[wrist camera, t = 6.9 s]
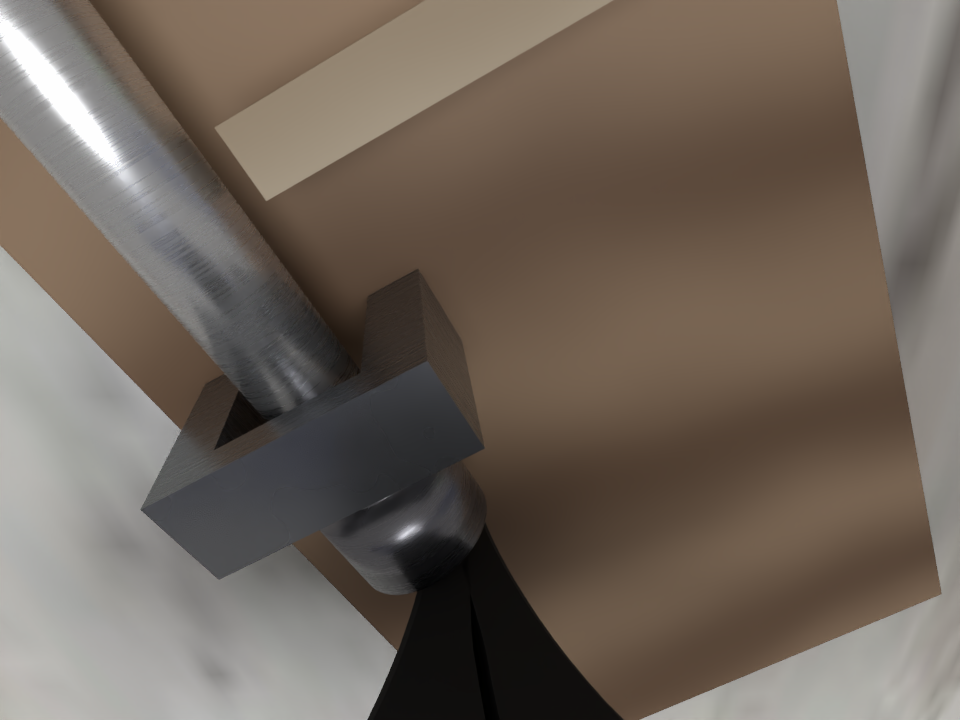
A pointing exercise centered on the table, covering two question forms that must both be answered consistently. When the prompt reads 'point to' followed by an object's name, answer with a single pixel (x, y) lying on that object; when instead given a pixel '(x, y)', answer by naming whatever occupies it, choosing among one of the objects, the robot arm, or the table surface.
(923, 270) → the table surface
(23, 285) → the table surface
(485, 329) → the walnut base with seat
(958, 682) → the table surface
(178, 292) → the steel shaft
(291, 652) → the table surface
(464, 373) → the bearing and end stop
